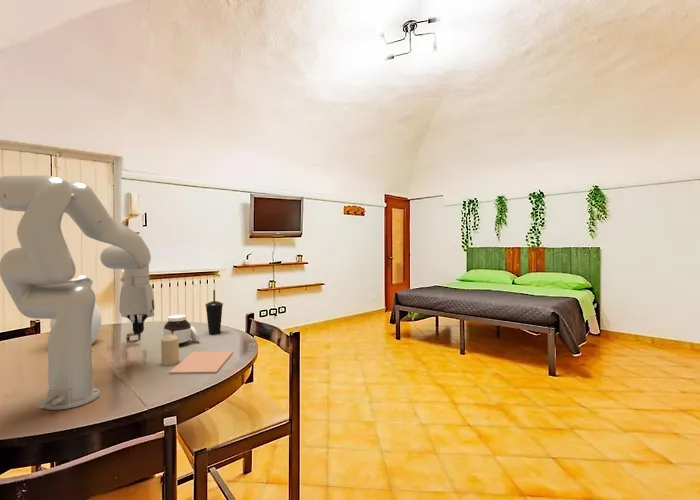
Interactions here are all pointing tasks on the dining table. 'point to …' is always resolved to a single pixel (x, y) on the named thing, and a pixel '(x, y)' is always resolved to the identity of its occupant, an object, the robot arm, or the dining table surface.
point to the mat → (202, 363)
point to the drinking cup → (214, 316)
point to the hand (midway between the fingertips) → (138, 333)
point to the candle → (170, 349)
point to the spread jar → (181, 329)
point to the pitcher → (96, 313)
